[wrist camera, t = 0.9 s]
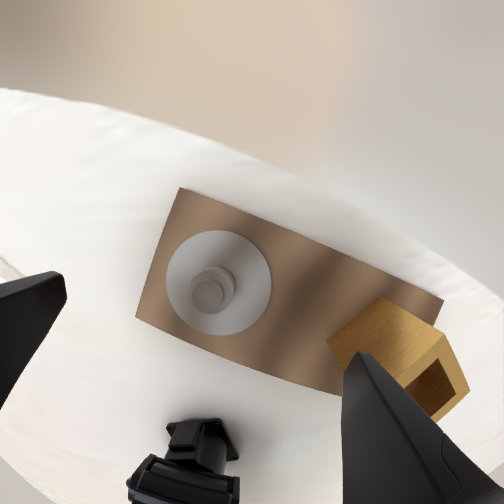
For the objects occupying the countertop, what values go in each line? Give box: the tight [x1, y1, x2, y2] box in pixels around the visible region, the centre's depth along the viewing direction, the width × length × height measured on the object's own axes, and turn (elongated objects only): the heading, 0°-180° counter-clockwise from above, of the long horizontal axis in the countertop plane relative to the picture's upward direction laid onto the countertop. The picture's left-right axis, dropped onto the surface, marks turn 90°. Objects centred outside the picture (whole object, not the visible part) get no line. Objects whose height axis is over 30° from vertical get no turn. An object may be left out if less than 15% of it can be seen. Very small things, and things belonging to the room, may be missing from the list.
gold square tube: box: [326, 296, 470, 423], centre depth 17 cm, size 6×6×10 cm
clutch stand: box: [135, 187, 444, 397], centre depth 21 cm, size 26×12×6 cm, turn 68°
